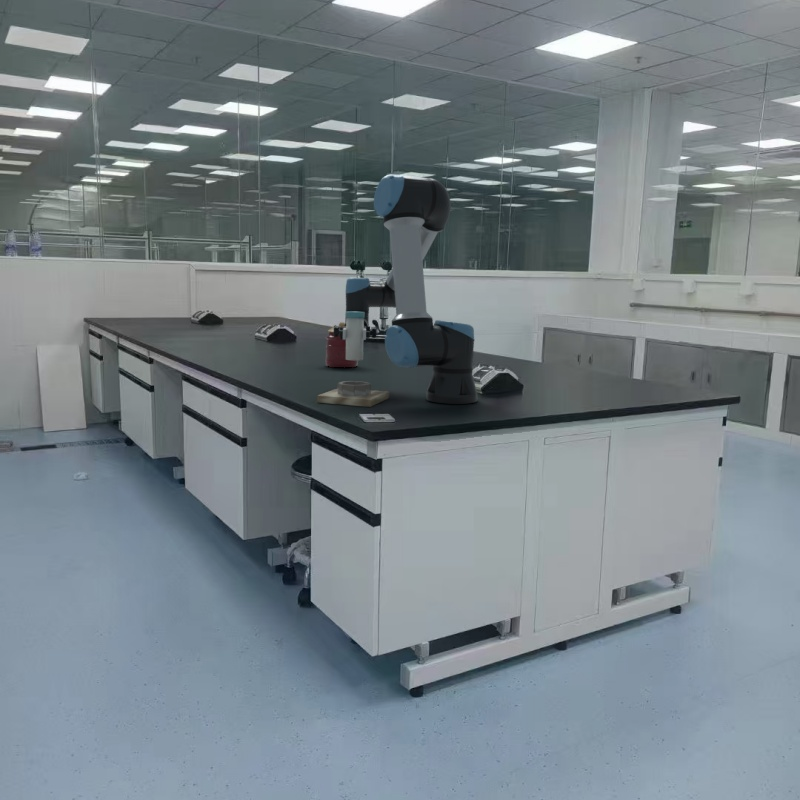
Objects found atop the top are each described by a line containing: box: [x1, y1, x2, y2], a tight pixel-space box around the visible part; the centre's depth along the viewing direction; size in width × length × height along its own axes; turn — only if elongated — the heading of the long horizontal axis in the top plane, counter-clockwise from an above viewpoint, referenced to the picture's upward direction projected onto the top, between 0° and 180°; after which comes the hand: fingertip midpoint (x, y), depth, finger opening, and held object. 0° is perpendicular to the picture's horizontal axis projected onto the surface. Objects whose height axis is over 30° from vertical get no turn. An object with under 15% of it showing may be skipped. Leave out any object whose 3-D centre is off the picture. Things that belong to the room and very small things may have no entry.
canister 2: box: [345, 310, 365, 361], centre depth 203 cm, size 5×5×14 cm
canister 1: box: [325, 321, 359, 369], centre depth 283 cm, size 13×13×18 cm
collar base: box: [316, 380, 390, 408], centre depth 206 cm, size 16×16×5 cm
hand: (354, 334), depth 198 cm, fingers closed on canister 2, 5 cm apart
